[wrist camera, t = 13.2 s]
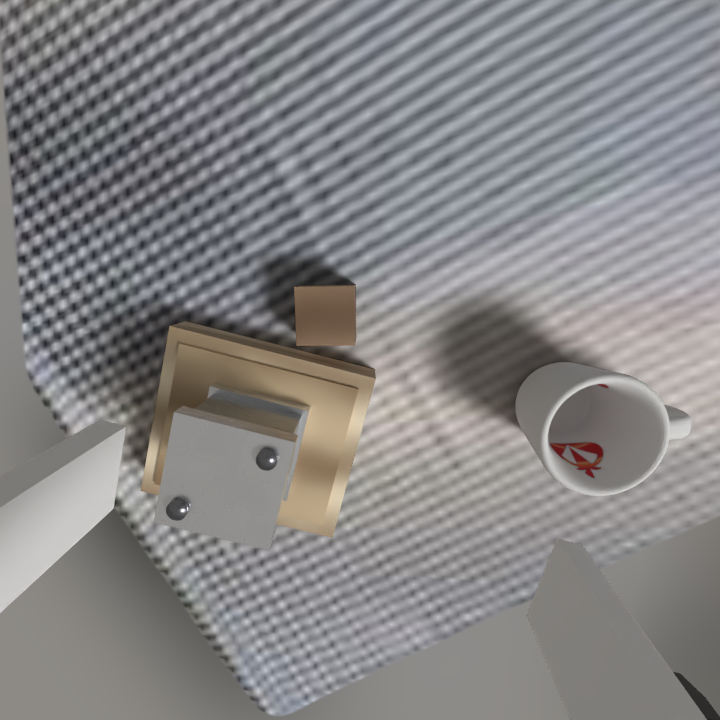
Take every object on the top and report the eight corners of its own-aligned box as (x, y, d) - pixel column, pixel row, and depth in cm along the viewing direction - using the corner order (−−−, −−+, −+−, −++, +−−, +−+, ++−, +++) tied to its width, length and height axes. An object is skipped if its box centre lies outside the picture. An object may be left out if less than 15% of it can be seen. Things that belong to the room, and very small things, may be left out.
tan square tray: (186, 321, 35) (167, 326, 31) (375, 369, 35) (375, 379, 32) (158, 473, 37) (138, 492, 34) (335, 516, 38) (331, 539, 34)
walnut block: (302, 285, 34) (294, 286, 30) (355, 284, 34) (353, 286, 30) (304, 337, 35) (296, 345, 31) (356, 336, 35) (354, 345, 31)
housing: (197, 470, 34) (150, 525, 26) (215, 382, 32) (170, 414, 25) (289, 493, 34) (267, 554, 26) (310, 406, 32) (294, 445, 25)
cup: (646, 349, 34) (728, 372, 27) (636, 447, 36) (710, 497, 28) (504, 351, 35) (543, 374, 27) (499, 448, 36) (536, 498, 28)
